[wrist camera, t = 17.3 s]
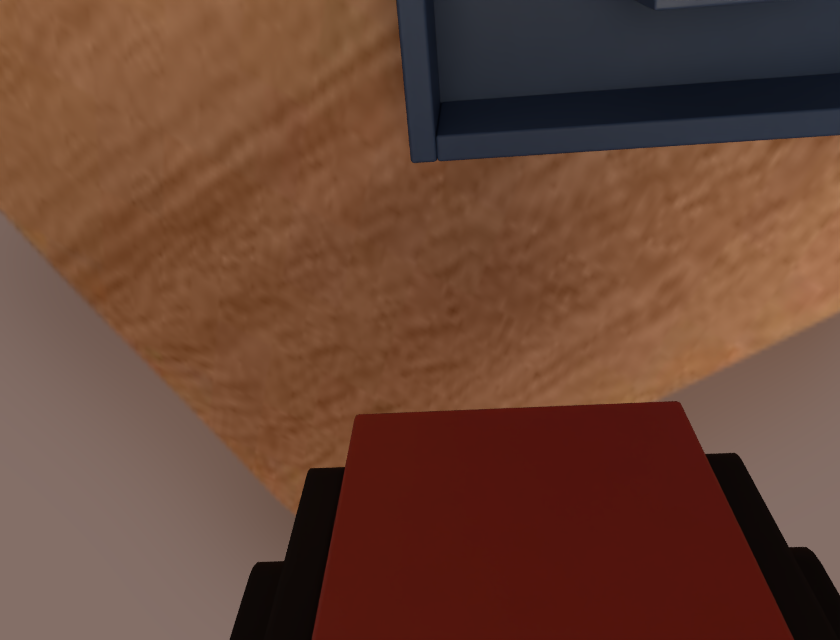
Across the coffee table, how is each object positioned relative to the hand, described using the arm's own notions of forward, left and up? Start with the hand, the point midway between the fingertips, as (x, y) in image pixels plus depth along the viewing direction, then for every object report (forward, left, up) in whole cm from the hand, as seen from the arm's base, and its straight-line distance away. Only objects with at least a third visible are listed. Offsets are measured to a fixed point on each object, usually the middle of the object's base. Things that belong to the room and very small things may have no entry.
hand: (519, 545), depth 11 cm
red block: (0, 0, 0) cm, 0 cm away
